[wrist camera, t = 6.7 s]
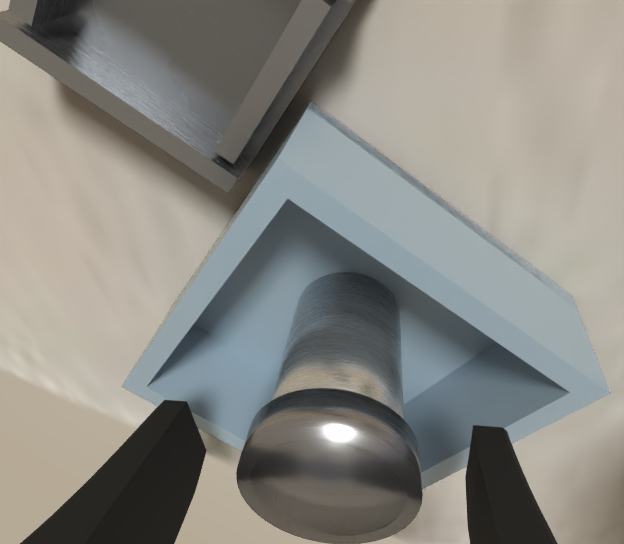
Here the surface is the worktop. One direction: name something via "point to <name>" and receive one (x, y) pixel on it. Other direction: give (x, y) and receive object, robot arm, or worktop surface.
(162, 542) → the robot arm
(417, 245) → the bin
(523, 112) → the worktop surface
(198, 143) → the plate
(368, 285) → the metal capped cylinder
